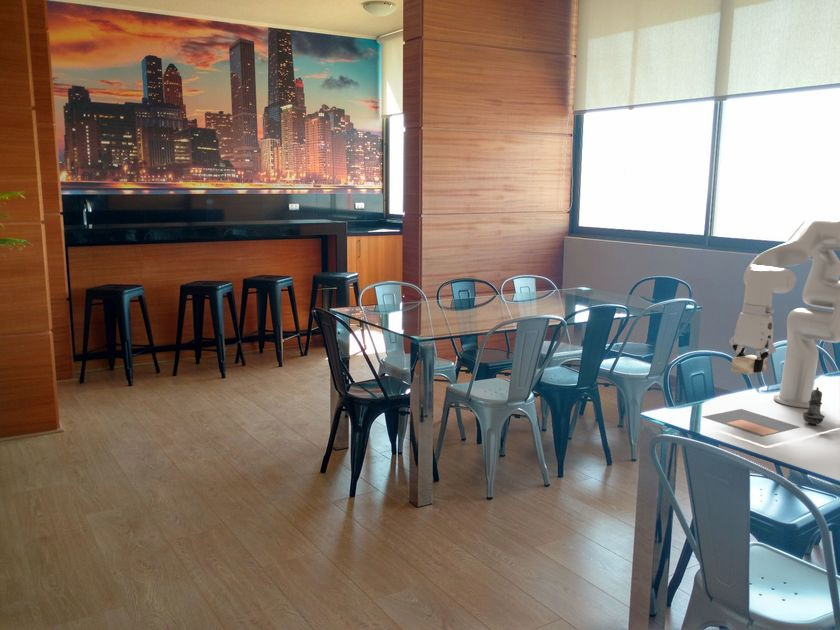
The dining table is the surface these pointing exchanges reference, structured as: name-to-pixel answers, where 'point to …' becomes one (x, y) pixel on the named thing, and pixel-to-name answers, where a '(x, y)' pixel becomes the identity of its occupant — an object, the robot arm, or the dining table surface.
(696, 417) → the dining table surface
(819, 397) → the dark grey tower figurine
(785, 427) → the mat
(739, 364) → the light wood block
